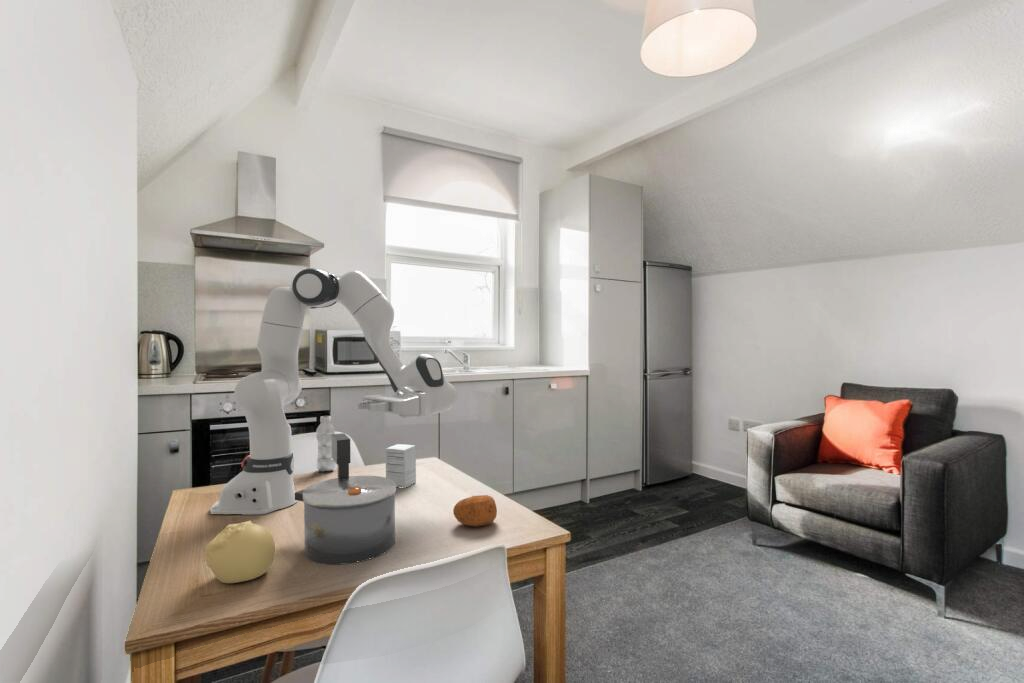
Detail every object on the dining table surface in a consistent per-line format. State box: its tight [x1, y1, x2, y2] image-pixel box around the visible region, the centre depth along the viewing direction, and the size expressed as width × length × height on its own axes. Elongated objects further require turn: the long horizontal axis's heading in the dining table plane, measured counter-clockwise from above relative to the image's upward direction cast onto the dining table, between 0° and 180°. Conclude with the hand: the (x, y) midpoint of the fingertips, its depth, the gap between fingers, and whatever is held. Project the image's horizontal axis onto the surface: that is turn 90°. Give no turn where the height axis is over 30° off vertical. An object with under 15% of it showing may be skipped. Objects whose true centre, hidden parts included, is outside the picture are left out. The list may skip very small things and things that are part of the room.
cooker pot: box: [295, 488, 396, 565], centre depth 117 cm, size 27×20×12 cm
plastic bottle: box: [315, 415, 337, 472], centre depth 182 cm, size 6×7×20 cm
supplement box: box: [385, 443, 417, 489], centre depth 164 cm, size 7×7×13 cm
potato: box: [453, 494, 498, 528], centre depth 128 cm, size 9×11×8 cm
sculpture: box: [204, 520, 276, 584], centre depth 101 cm, size 12×12×11 cm
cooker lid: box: [302, 432, 397, 508], centre depth 119 cm, size 28×21×11 cm
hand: (364, 406), depth 133 cm, fingers open, 4 cm apart
